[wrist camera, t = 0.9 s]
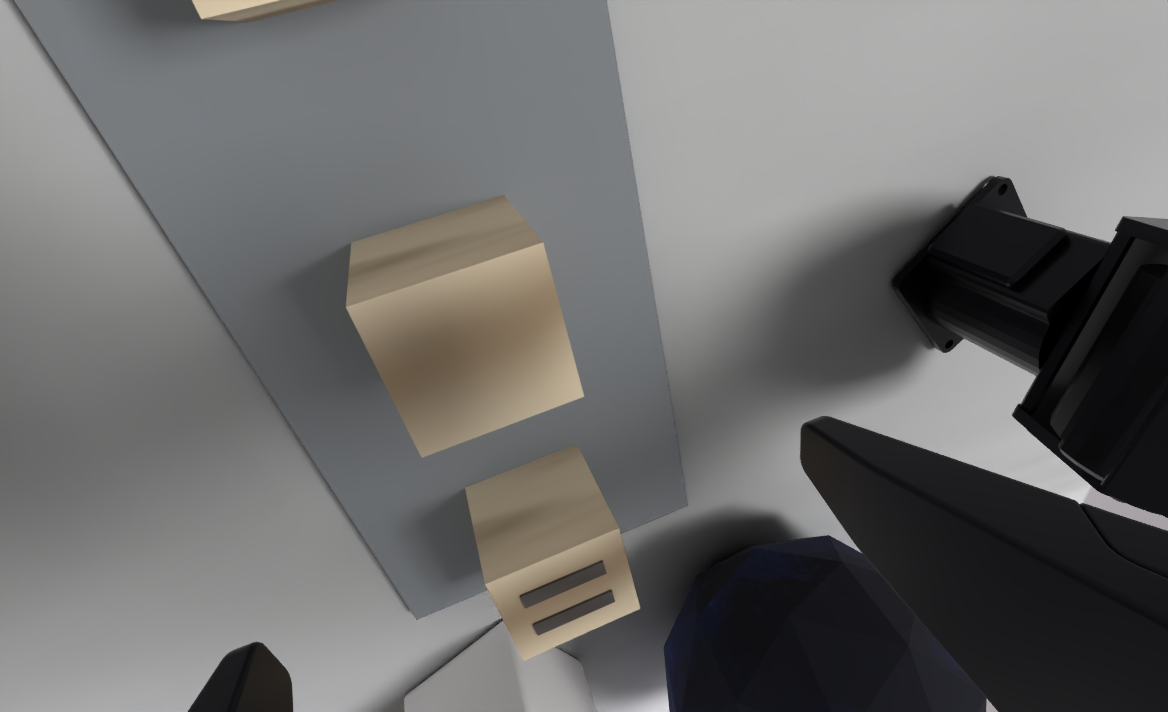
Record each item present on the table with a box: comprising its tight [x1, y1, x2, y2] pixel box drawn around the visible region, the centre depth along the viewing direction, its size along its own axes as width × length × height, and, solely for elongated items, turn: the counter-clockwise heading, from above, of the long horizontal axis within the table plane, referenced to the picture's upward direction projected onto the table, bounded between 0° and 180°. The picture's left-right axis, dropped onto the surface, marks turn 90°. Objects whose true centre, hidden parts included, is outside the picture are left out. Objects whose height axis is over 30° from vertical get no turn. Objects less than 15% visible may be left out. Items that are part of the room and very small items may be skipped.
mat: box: [14, 0, 688, 620], centre depth 20 cm, size 30×14×1 cm, turn 13°
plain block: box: [346, 195, 584, 458], centre depth 17 cm, size 5×5×5 cm
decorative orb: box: [664, 535, 986, 712], centre depth 29 cm, size 14×15×15 cm
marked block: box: [465, 444, 640, 661], centre depth 23 cm, size 5×5×5 cm
